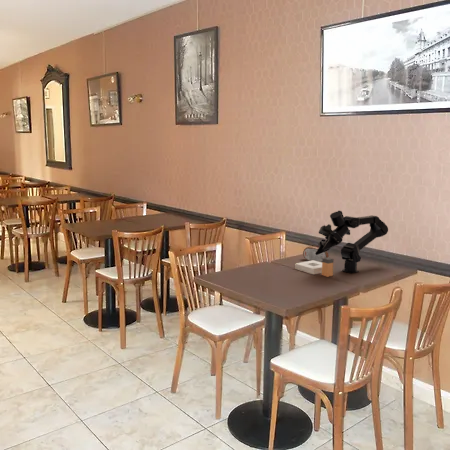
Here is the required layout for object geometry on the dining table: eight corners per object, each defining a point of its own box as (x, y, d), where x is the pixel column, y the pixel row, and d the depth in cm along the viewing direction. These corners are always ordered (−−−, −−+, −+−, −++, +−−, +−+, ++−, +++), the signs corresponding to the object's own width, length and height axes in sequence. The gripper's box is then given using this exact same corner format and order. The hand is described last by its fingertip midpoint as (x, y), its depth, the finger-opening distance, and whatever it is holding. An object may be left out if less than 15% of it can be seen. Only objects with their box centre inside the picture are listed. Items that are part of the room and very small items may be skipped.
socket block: (313, 265, 272) (313, 260, 271) (331, 270, 260) (332, 265, 260) (295, 268, 264) (295, 263, 263) (313, 274, 252) (313, 269, 252)
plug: (327, 273, 254) (327, 257, 252) (332, 275, 251) (333, 258, 249) (321, 275, 252) (322, 258, 250) (327, 276, 248) (328, 259, 247)
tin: (328, 262, 278) (329, 248, 277) (326, 263, 276) (327, 249, 274) (304, 259, 286) (304, 245, 285) (302, 260, 284) (302, 246, 282)
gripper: (320, 227, 259) (301, 245, 253) (335, 216, 241) (315, 235, 236) (335, 242, 258) (316, 260, 252) (350, 232, 240) (331, 252, 235)
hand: (319, 252), depth 244 cm, fingers open, 9 cm apart
